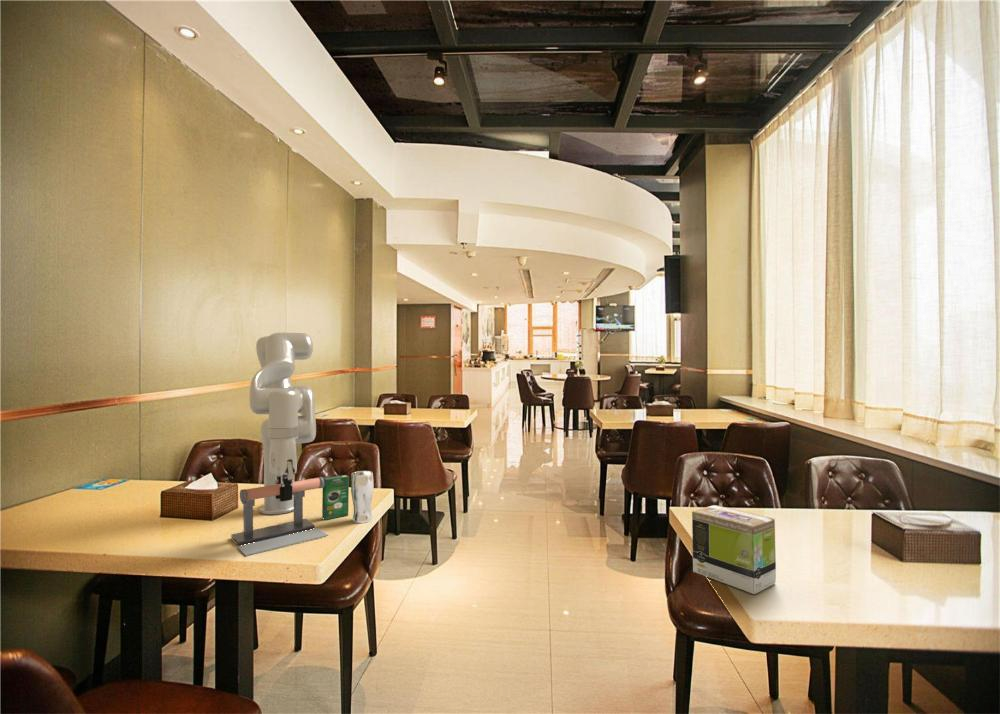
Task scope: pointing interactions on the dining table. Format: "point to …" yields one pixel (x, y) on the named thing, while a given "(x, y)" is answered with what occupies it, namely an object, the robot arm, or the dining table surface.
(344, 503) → the coffee box
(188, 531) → the dining table surface
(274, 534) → the hook stand
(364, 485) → the beer glass
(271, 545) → the mat
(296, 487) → the rod
